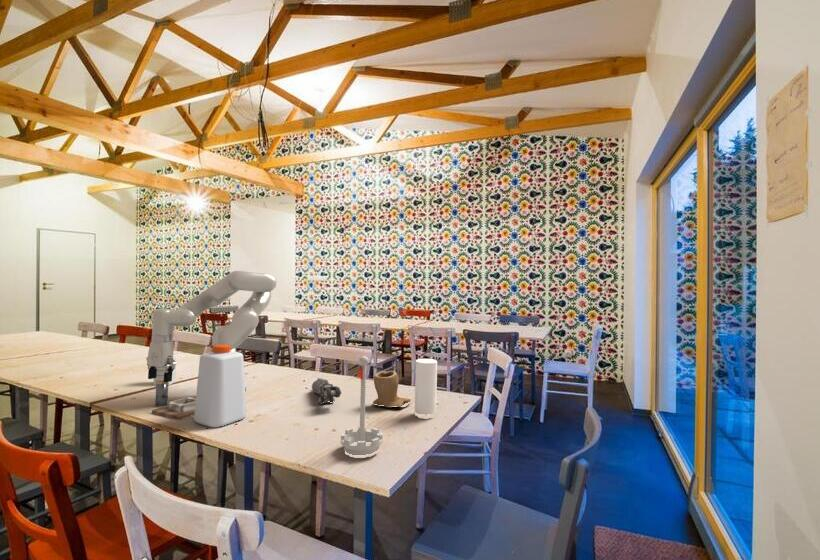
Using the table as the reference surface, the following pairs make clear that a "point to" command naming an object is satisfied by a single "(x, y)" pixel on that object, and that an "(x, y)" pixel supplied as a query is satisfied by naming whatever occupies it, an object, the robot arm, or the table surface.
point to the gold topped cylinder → (161, 393)
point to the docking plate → (178, 408)
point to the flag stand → (361, 425)
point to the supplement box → (161, 374)
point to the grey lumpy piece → (325, 390)
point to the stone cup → (388, 389)
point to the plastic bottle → (220, 388)
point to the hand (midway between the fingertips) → (159, 380)
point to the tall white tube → (425, 385)
